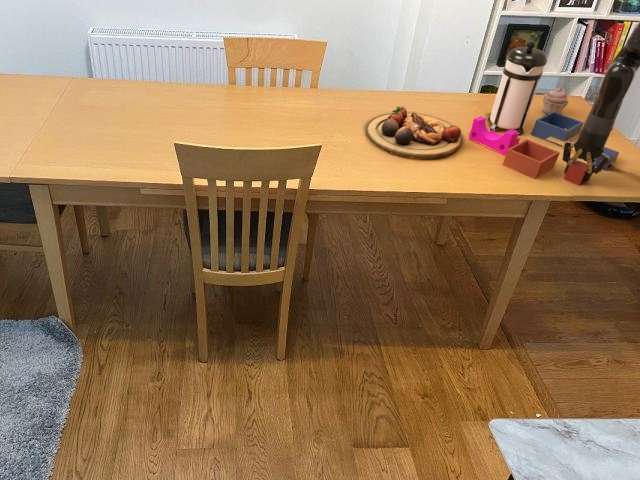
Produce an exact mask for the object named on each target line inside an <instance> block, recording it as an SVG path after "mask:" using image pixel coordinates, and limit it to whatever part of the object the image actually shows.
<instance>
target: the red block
mask: <svg viewBox="0 0 640 480" xmlns="http://www.w3.org/2000/svg"><path fill="white" fill-rule="evenodd" d="M586 172H587V162H586V163H585V162H583V161H582V160H581V161H580V160H578V159H577V160H576V161H575V162H574V163H572V164H570V165H569V168H568V170H567V172H566V175H565V174H564V177H563V179H564V180H566V181H568V182H570V183H573V184H574V185H577V186H580V185H582V184H583V183H582V181H583V178H584V176H585V174H586Z"/></svg>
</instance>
